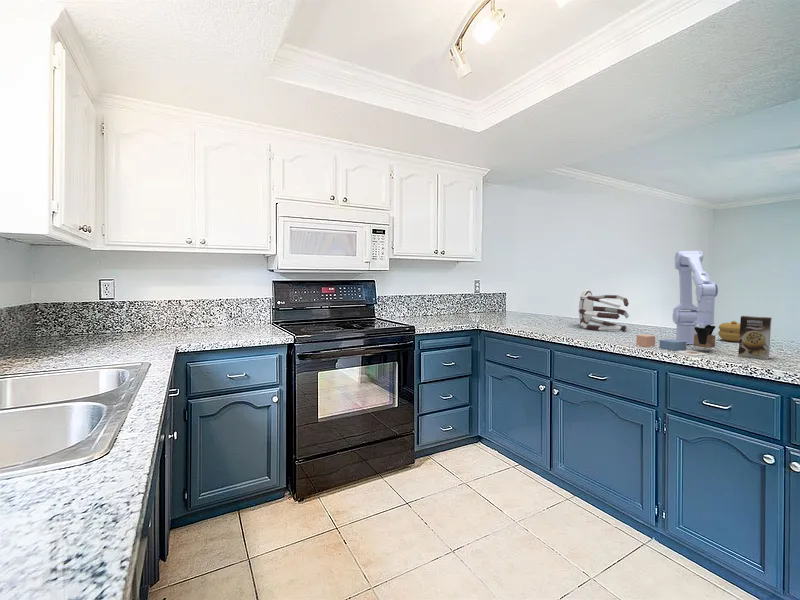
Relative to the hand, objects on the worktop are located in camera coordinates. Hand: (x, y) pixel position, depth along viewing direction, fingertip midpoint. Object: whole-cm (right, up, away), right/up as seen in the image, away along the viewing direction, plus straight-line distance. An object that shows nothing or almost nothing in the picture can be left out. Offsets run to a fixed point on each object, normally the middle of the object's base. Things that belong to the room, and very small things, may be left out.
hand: (704, 343), depth 172 cm
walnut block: (0, -1, 0) cm, 1 cm away
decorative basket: (-8, +1, +73) cm, 74 cm away
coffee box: (+10, -4, -12) cm, 17 cm away
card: (-9, -4, -5) cm, 11 cm away
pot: (+33, -2, +25) cm, 41 cm away
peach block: (-17, -3, +13) cm, 22 cm away
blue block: (-10, -4, +5) cm, 12 cm away
